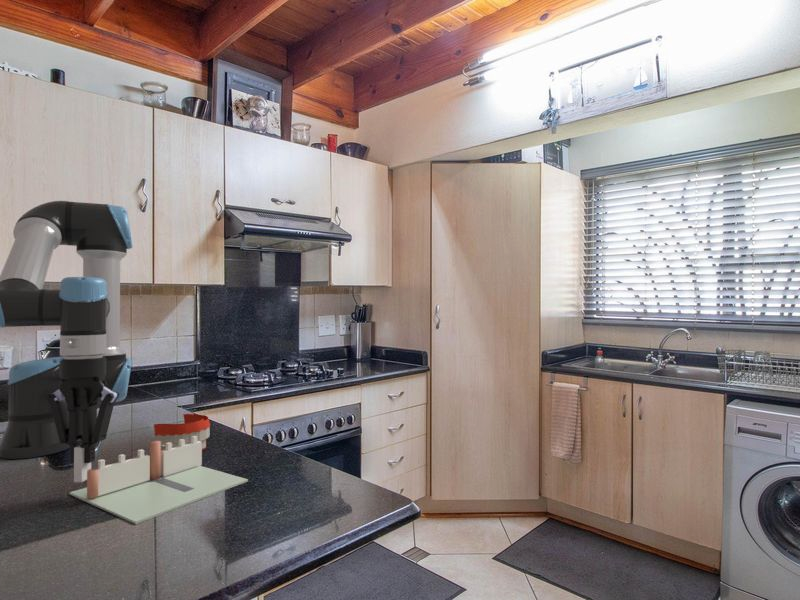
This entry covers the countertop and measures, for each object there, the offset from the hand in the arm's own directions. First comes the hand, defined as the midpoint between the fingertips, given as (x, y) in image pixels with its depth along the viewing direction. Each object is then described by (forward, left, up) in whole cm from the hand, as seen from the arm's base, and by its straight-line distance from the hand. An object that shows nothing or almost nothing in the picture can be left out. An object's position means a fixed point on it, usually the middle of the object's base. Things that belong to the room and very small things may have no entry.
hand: (82, 479), depth 91 cm
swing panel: (+4, +5, -3) cm, 7 cm away
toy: (-9, +28, -4) cm, 30 cm away
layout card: (+9, +11, -3) cm, 14 cm away
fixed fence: (+4, +17, -3) cm, 18 cm away
